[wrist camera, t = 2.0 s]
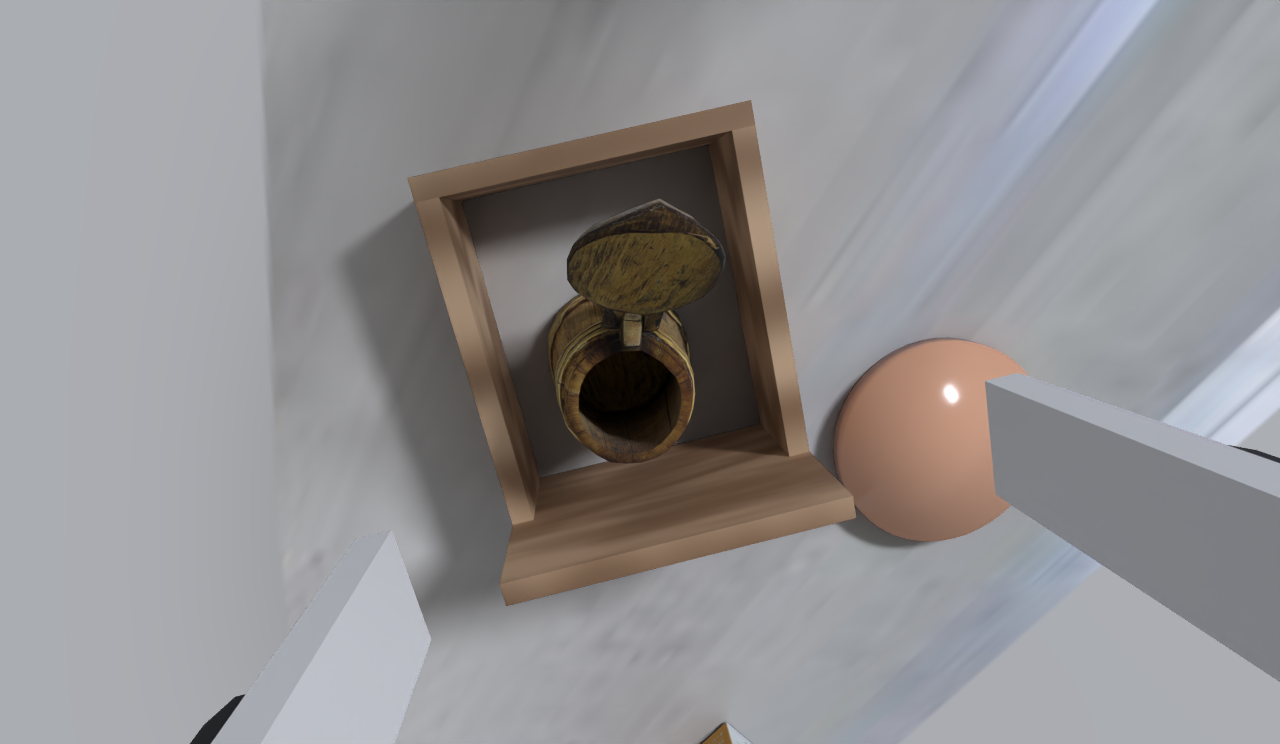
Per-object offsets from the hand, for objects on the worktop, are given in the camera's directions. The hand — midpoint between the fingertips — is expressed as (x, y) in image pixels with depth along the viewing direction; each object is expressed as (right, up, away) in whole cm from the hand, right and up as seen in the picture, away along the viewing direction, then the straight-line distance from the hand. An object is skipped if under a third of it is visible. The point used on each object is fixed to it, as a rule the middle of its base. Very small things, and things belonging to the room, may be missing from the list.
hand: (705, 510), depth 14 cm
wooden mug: (-3, +6, +26) cm, 27 cm away
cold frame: (-3, +6, +26) cm, 27 cm away
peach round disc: (+19, -2, +30) cm, 35 cm away
